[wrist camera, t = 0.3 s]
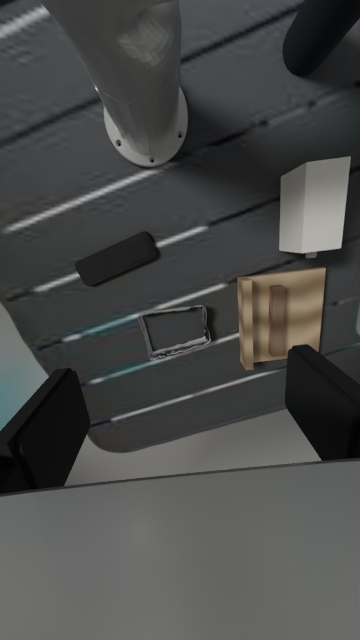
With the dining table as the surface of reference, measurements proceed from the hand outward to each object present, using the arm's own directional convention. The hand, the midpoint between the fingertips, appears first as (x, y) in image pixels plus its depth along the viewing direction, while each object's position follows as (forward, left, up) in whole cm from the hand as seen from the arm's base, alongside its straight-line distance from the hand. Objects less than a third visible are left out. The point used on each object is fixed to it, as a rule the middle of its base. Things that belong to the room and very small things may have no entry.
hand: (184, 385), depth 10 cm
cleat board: (+11, +20, -36) cm, 42 cm away
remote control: (-4, -10, -36) cm, 38 cm away
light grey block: (-8, +23, -36) cm, 43 cm away
